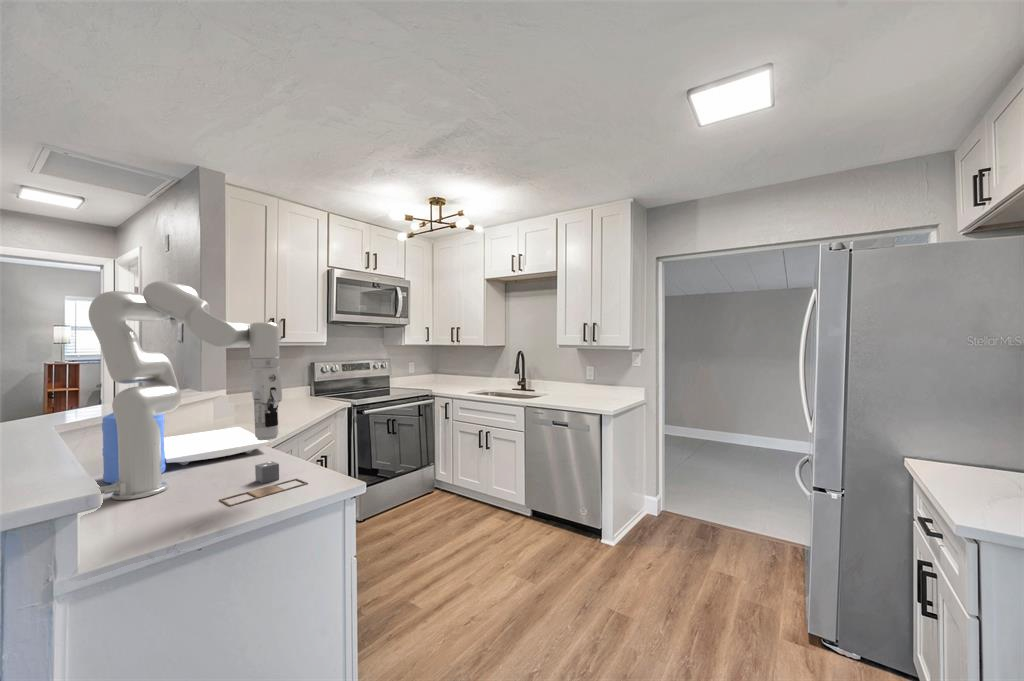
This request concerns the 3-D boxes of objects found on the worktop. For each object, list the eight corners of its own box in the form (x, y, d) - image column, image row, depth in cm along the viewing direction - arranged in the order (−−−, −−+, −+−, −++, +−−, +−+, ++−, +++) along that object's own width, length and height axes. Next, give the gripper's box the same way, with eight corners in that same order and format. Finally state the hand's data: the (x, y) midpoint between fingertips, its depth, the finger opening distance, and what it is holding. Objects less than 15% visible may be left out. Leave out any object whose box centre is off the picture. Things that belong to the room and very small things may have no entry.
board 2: (229, 506, 113) (229, 505, 113) (219, 500, 118) (219, 499, 118) (308, 483, 130) (308, 482, 130) (296, 479, 135) (296, 478, 135)
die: (262, 483, 131) (262, 467, 131) (255, 480, 134) (255, 464, 134) (279, 479, 135) (278, 463, 135) (272, 476, 138) (271, 460, 138)
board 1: (150, 450, 177) (150, 439, 177) (239, 436, 200) (239, 426, 200) (166, 472, 146) (166, 459, 146) (269, 453, 169) (269, 441, 169)
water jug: (147, 482, 135) (145, 395, 135) (89, 486, 132) (87, 397, 132) (175, 467, 150) (174, 389, 150) (124, 471, 147) (122, 391, 147)
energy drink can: (283, 436, 126) (281, 386, 126) (264, 441, 120) (262, 389, 120) (269, 435, 128) (268, 386, 128) (250, 440, 123) (248, 388, 123)
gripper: (291, 363, 122) (293, 426, 122) (266, 363, 133) (268, 420, 133) (263, 365, 116) (265, 430, 116) (239, 364, 127) (241, 424, 127)
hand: (266, 424), depth 124 cm, fingers closed on energy drink can, 6 cm apart
